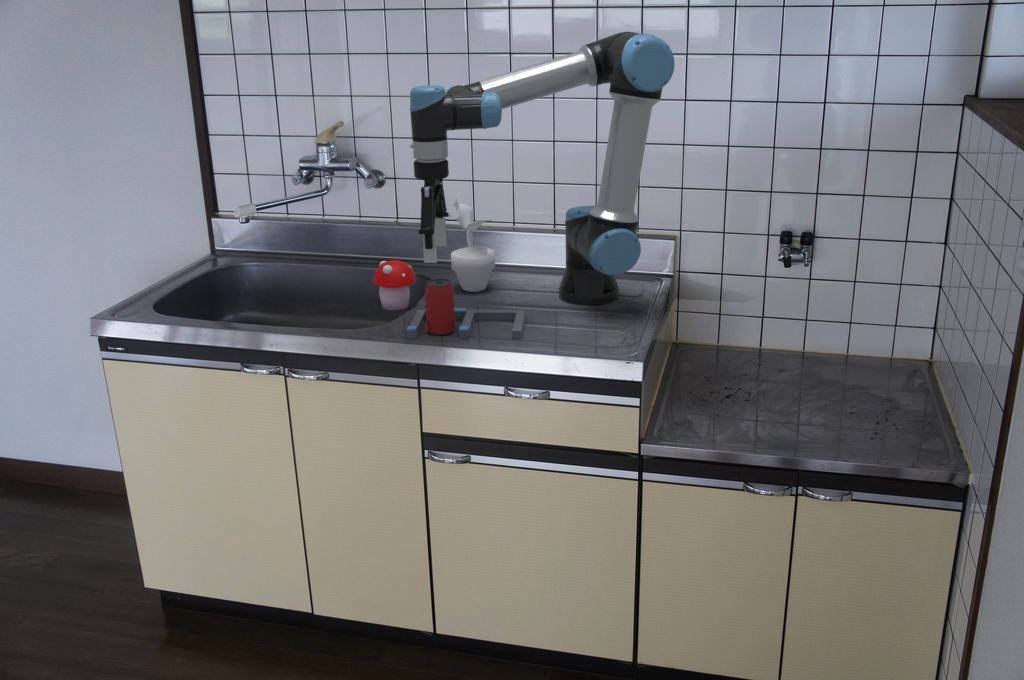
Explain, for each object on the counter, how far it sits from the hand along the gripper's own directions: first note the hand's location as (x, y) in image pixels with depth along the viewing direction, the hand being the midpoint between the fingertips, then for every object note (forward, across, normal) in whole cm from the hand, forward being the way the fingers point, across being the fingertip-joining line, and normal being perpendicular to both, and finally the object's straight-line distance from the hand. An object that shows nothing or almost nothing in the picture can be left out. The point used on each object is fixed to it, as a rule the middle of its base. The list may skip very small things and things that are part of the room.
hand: (435, 254), depth 218 cm
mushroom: (+19, -18, -14) cm, 30 cm away
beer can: (+19, -1, 0) cm, 19 cm away
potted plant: (+19, -32, +4) cm, 38 cm away
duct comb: (+19, -3, +6) cm, 20 cm away
